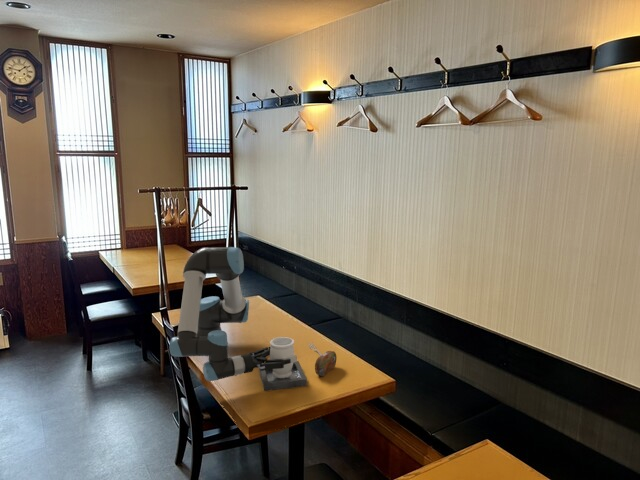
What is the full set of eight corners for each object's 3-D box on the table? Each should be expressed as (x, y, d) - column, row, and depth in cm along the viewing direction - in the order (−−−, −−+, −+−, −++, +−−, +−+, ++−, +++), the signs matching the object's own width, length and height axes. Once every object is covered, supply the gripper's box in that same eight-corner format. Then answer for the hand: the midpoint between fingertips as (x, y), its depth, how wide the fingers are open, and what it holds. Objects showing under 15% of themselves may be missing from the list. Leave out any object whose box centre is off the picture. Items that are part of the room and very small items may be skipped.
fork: (327, 366, 212) (327, 362, 212) (307, 346, 234) (307, 343, 233) (333, 364, 213) (333, 361, 213) (313, 345, 235) (313, 342, 235)
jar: (290, 381, 192) (290, 347, 189) (266, 378, 194) (266, 345, 192) (296, 369, 202) (296, 337, 200) (274, 367, 204) (274, 335, 202)
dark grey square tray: (259, 371, 205) (258, 365, 205) (298, 367, 210) (298, 361, 209) (264, 391, 188) (264, 384, 187) (307, 386, 192) (307, 379, 192)
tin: (319, 379, 198) (319, 361, 197) (313, 377, 200) (313, 359, 199) (337, 366, 211) (337, 349, 209) (331, 364, 213) (331, 347, 211)
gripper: (233, 362, 199) (280, 352, 209) (252, 384, 179) (302, 372, 190) (232, 345, 197) (279, 336, 208) (251, 366, 178) (302, 355, 188)
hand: (290, 353), depth 199 cm, fingers closed on jar, 10 cm apart
